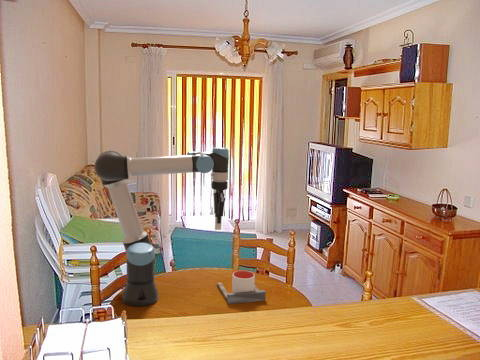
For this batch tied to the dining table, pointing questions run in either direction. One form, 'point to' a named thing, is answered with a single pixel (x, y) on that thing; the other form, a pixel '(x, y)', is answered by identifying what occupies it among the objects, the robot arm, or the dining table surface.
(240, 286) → the cup
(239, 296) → the grey tray
